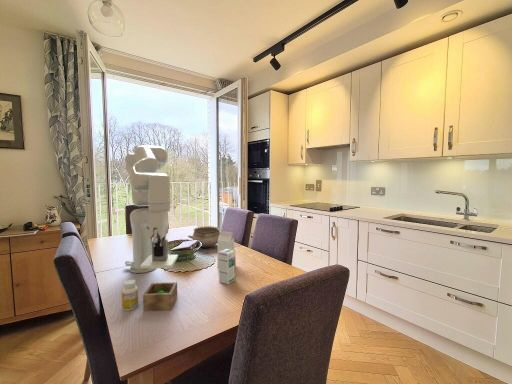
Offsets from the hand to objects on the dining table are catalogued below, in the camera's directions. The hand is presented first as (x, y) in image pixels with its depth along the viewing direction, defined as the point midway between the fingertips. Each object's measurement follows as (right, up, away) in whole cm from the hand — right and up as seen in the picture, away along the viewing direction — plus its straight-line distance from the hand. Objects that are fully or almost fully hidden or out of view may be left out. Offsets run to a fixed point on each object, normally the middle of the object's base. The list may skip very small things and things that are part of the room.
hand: (160, 254), depth 94 cm
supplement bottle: (-10, -20, -2) cm, 22 cm away
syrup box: (+23, -18, +21) cm, 36 cm away
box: (0, -19, +1) cm, 19 cm away
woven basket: (+3, -14, +74) cm, 76 cm away
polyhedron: (0, -20, +1) cm, 20 cm away
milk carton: (+20, -17, +39) cm, 47 cm away
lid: (0, -3, 0) cm, 3 cm away
